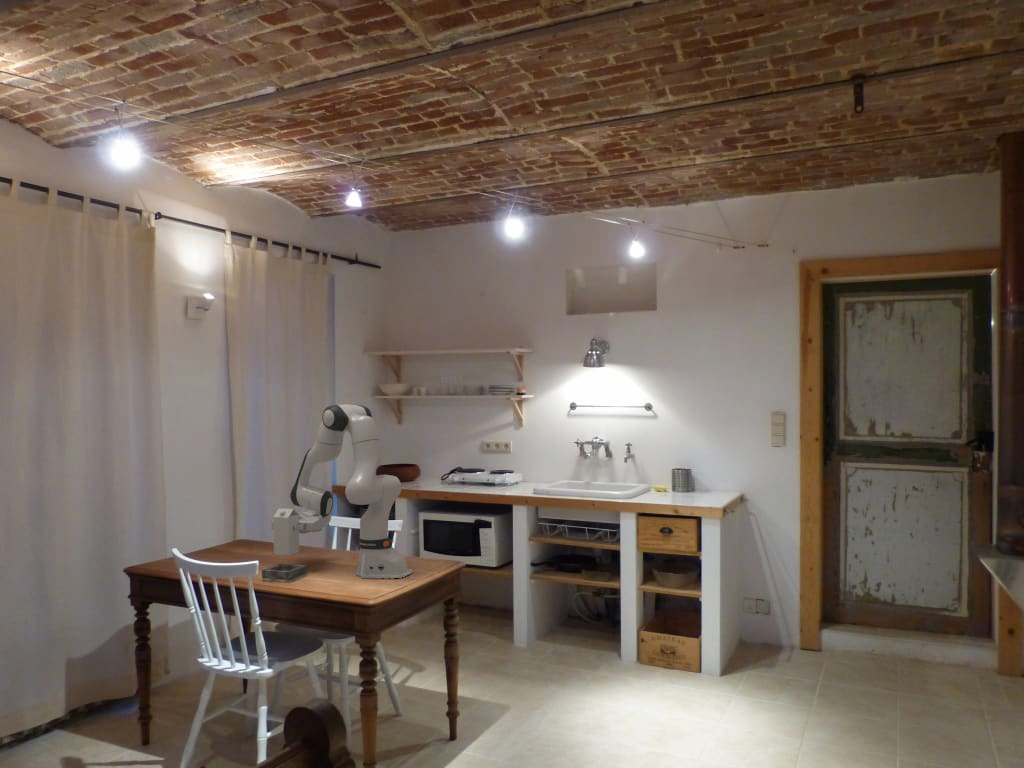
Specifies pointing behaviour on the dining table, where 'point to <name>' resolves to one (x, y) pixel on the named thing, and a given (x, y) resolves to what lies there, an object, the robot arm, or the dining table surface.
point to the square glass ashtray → (284, 572)
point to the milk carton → (286, 531)
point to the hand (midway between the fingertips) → (285, 527)
